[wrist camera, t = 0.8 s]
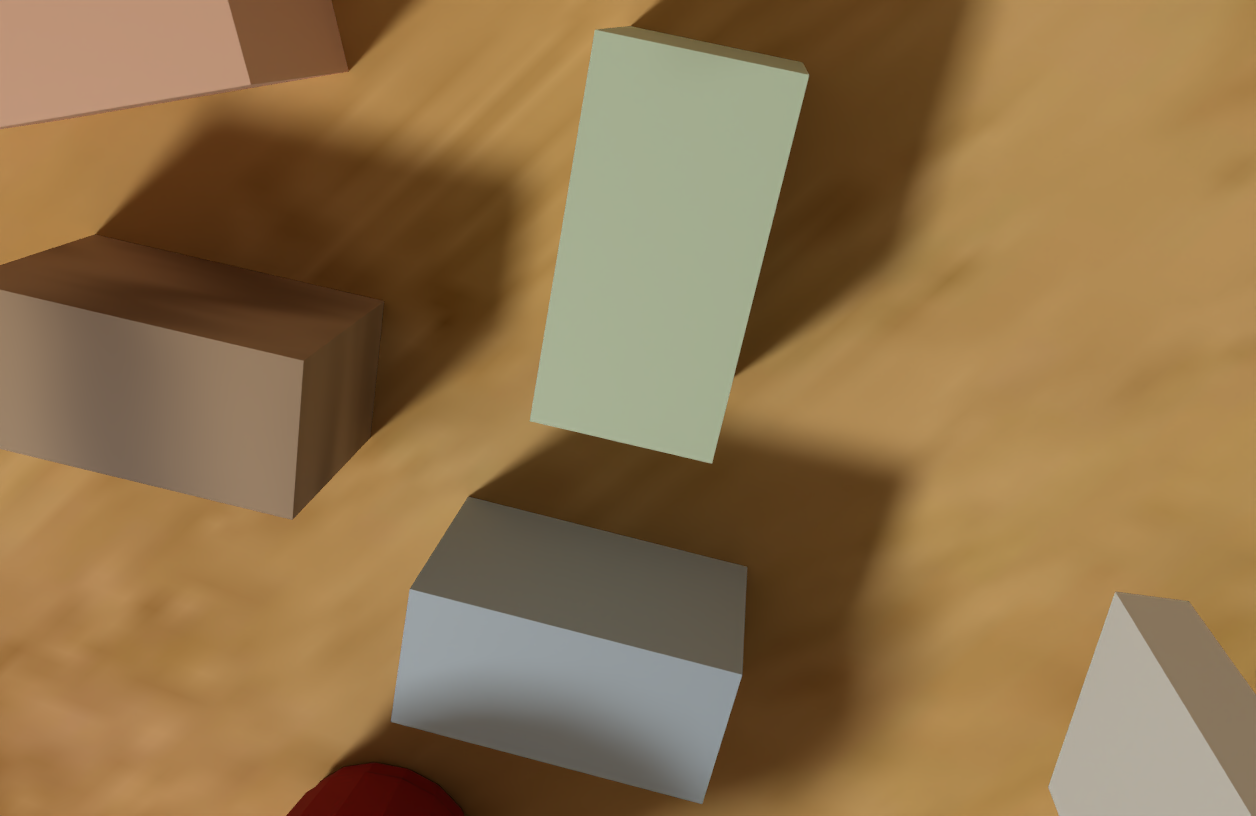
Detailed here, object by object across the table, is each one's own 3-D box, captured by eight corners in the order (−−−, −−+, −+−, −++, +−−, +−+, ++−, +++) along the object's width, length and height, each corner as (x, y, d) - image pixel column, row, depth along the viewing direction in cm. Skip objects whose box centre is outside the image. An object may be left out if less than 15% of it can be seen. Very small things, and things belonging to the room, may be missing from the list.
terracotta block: (307, -112, 23) (188, -144, 18) (350, 71, 24) (250, 84, 19) (3, -49, 24) (-179, -64, 20) (60, 120, 26) (-96, 143, 21)
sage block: (631, 26, 23) (595, 29, 18) (802, 61, 23) (808, 74, 18) (573, 348, 26) (529, 421, 21) (723, 382, 26) (711, 464, 21)
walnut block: (385, 299, 26) (303, 360, 22) (371, 435, 28) (292, 519, 23) (97, 233, 27) (-44, 279, 22) (100, 370, 28) (-32, 441, 23)
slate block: (747, 564, 28) (742, 674, 23) (713, 679, 29) (701, 804, 25) (469, 494, 28) (409, 589, 23) (450, 611, 30) (390, 721, 25)
